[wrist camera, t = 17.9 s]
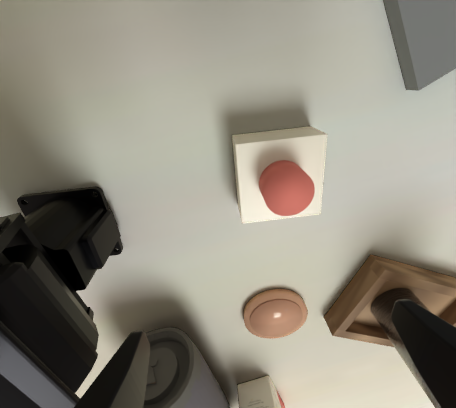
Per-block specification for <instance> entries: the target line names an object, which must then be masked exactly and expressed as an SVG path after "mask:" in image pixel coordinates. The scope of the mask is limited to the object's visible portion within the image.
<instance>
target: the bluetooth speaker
mask: <svg viewBox="0 0 456 408" xmlns="http://www.w3.org/2000/svg"><path fill="white" fill-rule="evenodd" d="M145 334H146V336H147V339H148V342H149V344H150V356H149V365H148V374H147V383H146V392H145V400H144V405H143V408H230V407H229V403H228V401H227V398H226V396H225V394H224V392H223V391H222V389H221V387H220V385H219V383H218V382H217V381H216V379H215V377H214V375H213V374H212V372H211V370H210V368H209V366H208V365H207V363H206V362H205V360H204V358H203V357H202V355H201V353H200V352H199V350H198V349H197V347H196V346H195V344H194V343H193V342H192V340H191V339H190V338H189V337H188V335H187V334H186V333H184V332H183V331H182V330H180V329H177V328H174V327H168V328H162V329H157V330H154V331H150V332H148V333H145Z"/></svg>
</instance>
